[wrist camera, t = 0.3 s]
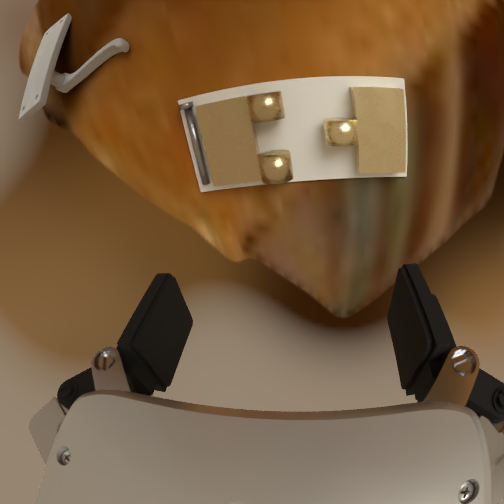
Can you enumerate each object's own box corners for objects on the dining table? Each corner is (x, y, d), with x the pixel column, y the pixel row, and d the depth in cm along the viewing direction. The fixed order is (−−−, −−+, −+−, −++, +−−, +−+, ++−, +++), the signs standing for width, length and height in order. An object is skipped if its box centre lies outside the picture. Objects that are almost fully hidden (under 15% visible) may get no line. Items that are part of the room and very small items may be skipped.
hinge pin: (182, 104, 34) (176, 105, 32) (194, 100, 34) (189, 102, 32) (201, 183, 41) (197, 187, 39) (213, 181, 41) (209, 186, 39)
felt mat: (178, 100, 34) (177, 100, 34) (402, 78, 27) (403, 78, 27) (201, 191, 42) (200, 192, 42) (405, 175, 36) (406, 176, 35)
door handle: (71, 46, 32) (52, 128, 34) (45, 32, 24) (18, 119, 26) (140, 4, 28) (125, 88, 29) (115, -20, 20) (87, 66, 22)
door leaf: (317, 87, 30) (320, 88, 27) (397, 87, 28) (409, 89, 24) (326, 169, 37) (330, 180, 34) (399, 167, 35) (410, 177, 31)
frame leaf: (200, 104, 34) (189, 108, 30) (281, 90, 31) (280, 91, 28) (217, 180, 40) (210, 191, 37) (293, 172, 38) (293, 182, 35)
